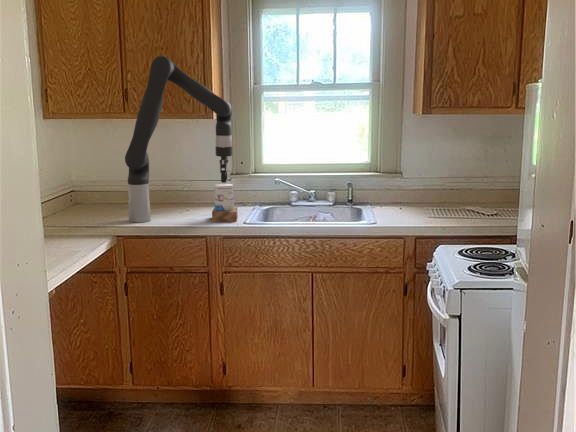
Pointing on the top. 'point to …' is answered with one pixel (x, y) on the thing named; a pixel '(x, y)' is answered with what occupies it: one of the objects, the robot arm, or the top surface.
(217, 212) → the walnut block
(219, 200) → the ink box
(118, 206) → the top surface
